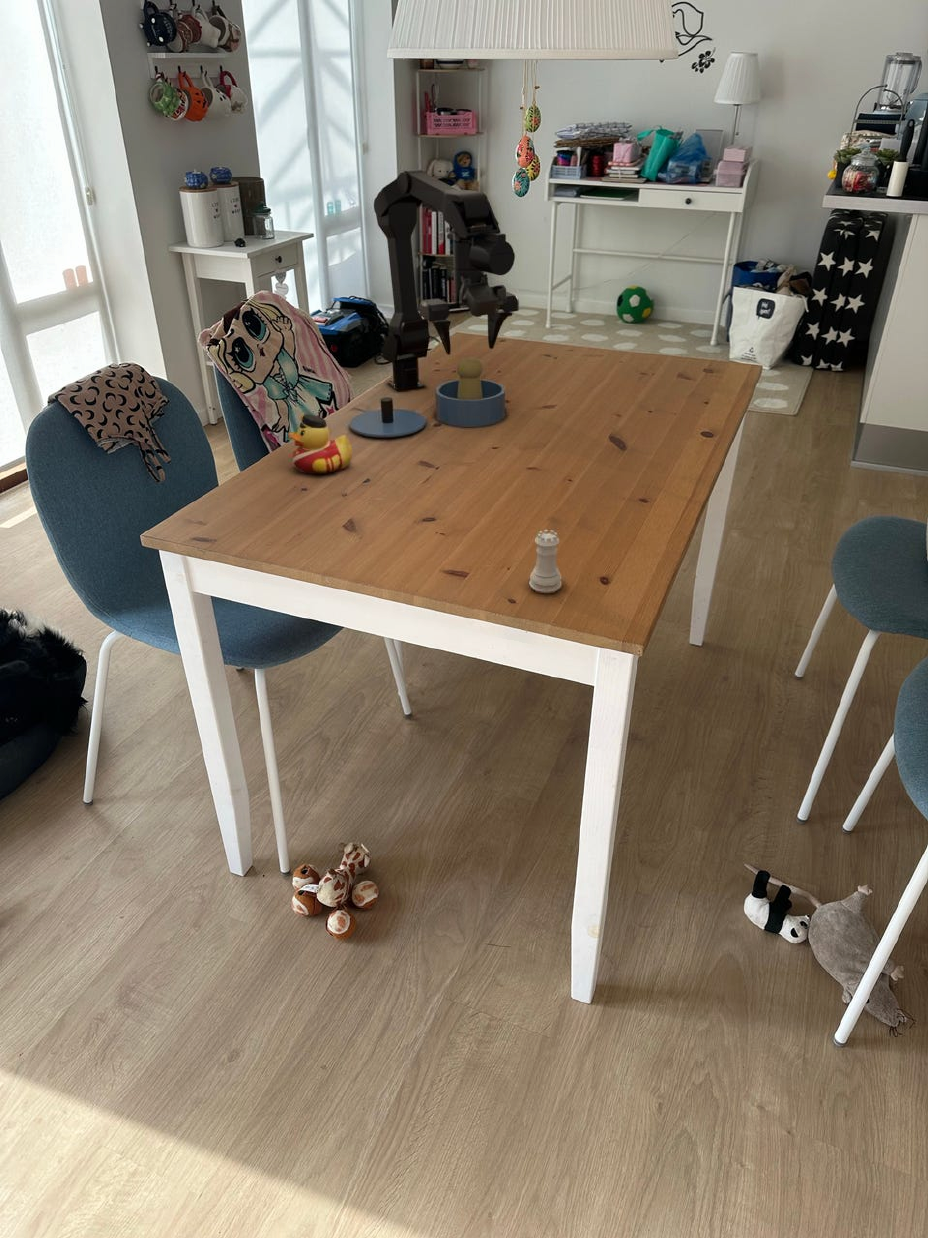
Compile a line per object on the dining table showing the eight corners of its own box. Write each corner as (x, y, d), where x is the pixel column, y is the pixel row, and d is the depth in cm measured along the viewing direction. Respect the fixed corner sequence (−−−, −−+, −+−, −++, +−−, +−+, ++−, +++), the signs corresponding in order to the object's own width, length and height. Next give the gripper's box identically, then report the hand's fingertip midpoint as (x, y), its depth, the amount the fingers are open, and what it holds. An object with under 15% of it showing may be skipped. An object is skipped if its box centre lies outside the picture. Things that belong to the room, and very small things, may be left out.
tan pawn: (473, 419, 176) (472, 365, 170) (449, 414, 179) (448, 359, 173) (490, 411, 180) (490, 357, 174) (467, 406, 183) (466, 352, 177)
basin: (426, 409, 183) (425, 384, 180) (487, 400, 187) (487, 375, 185) (452, 431, 172) (451, 404, 169) (516, 420, 176) (516, 394, 174)
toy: (289, 462, 159) (282, 408, 154) (347, 454, 162) (342, 401, 157) (297, 481, 152) (290, 426, 147) (358, 473, 155) (353, 418, 149)
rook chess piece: (529, 577, 122) (531, 526, 118) (561, 578, 122) (564, 527, 118) (528, 594, 119) (530, 541, 114) (561, 595, 118) (564, 542, 114)
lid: (340, 420, 178) (338, 393, 175) (410, 409, 183) (409, 383, 180) (363, 445, 166) (361, 416, 163) (437, 432, 171) (436, 404, 168)
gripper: (439, 279, 155) (441, 368, 163) (533, 269, 161) (531, 355, 170) (416, 268, 164) (419, 353, 172) (506, 259, 170) (505, 341, 178)
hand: (469, 351), depth 173 cm, fingers open, 9 cm apart
